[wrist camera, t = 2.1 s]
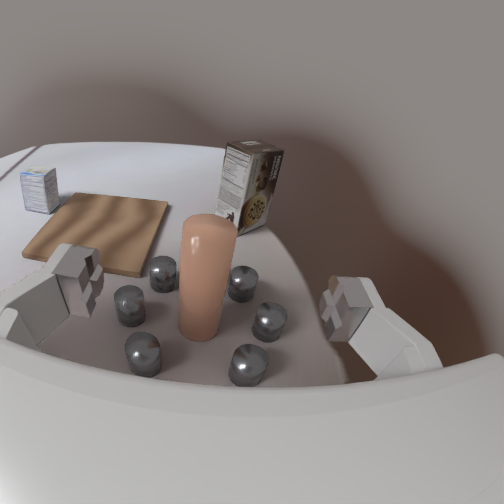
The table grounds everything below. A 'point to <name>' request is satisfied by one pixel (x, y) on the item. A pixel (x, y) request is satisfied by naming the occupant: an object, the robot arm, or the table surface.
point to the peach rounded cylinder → (204, 274)
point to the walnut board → (103, 230)
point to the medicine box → (40, 189)
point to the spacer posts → (240, 289)
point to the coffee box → (248, 183)
